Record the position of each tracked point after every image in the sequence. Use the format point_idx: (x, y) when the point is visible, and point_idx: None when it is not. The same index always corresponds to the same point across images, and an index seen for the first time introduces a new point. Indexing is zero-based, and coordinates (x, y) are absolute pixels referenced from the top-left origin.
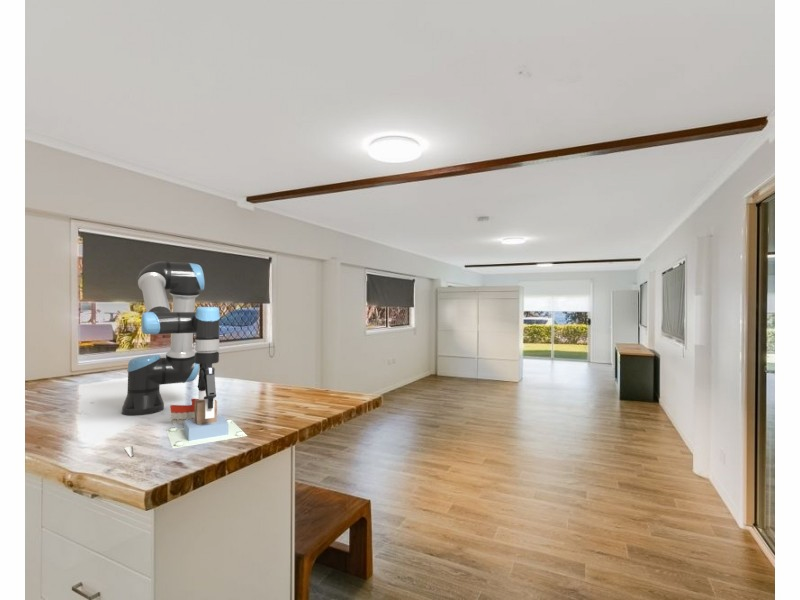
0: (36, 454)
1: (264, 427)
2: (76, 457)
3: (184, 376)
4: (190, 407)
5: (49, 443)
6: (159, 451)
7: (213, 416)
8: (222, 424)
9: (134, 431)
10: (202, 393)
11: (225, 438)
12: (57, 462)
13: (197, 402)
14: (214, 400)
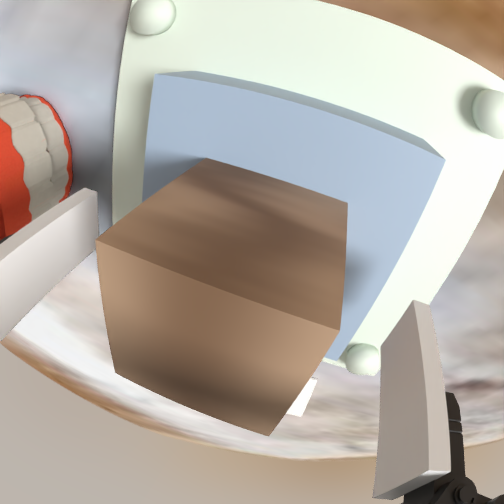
0: (148, 429)
1: None
2: (210, 432)
3: None
4: (11, 217)
5: (92, 396)
6: (322, 375)
7: (427, 317)
8: (425, 199)
9: (61, 302)
10: (5, 305)
11: (472, 198)
12: (219, 446)
13: (213, 413)
14: (449, 443)
